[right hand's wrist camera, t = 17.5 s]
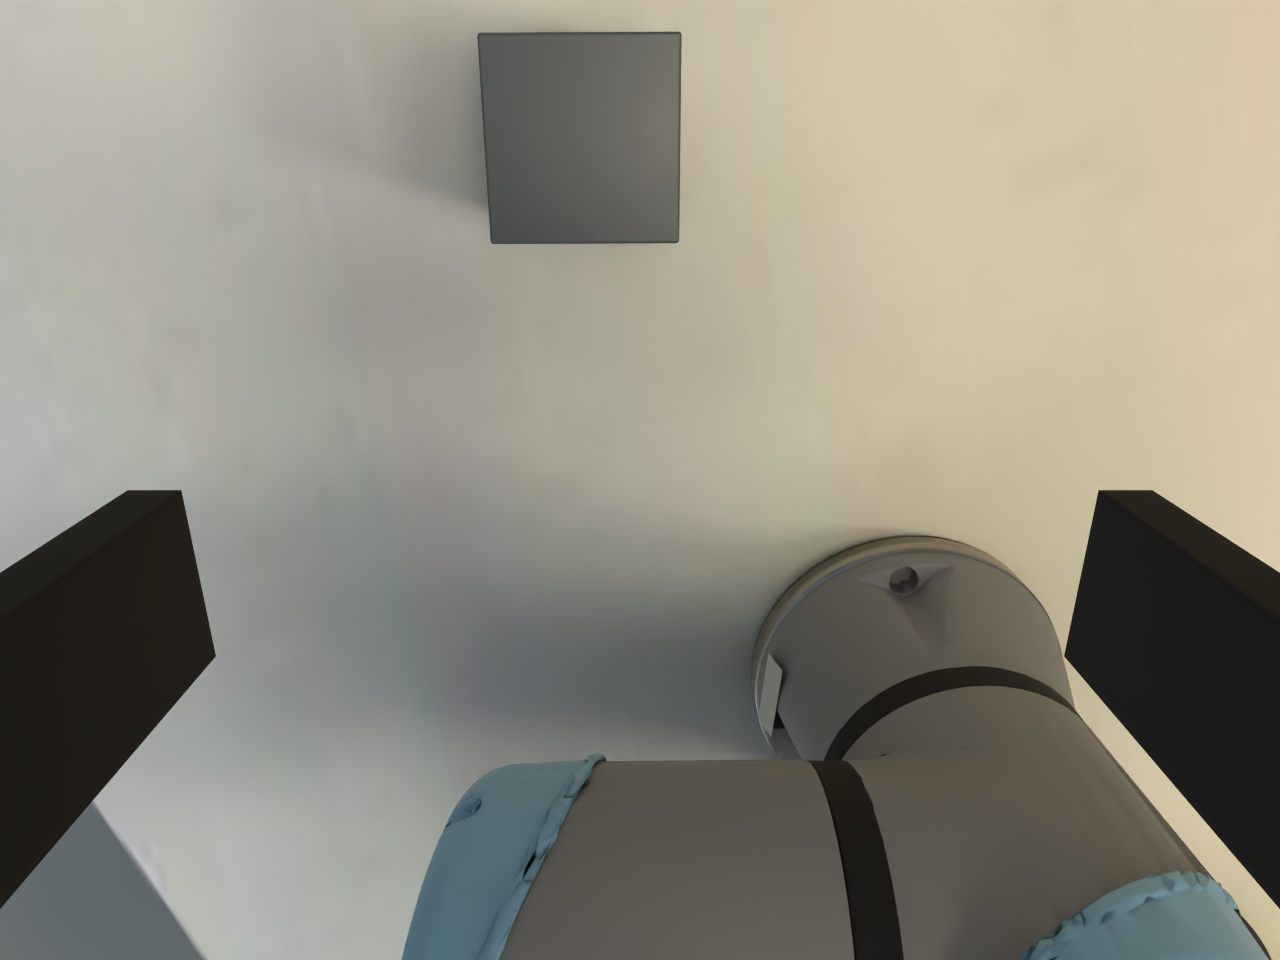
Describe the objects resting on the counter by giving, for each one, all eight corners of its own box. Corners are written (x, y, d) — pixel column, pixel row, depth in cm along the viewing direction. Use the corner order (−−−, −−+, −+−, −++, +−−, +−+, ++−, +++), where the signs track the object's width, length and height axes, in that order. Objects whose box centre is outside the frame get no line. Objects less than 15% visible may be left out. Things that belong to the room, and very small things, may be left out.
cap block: (669, 221, 36) (678, 243, 27) (529, 221, 36) (490, 244, 27) (670, 66, 34) (681, 31, 25) (521, 66, 34) (476, 32, 25)
